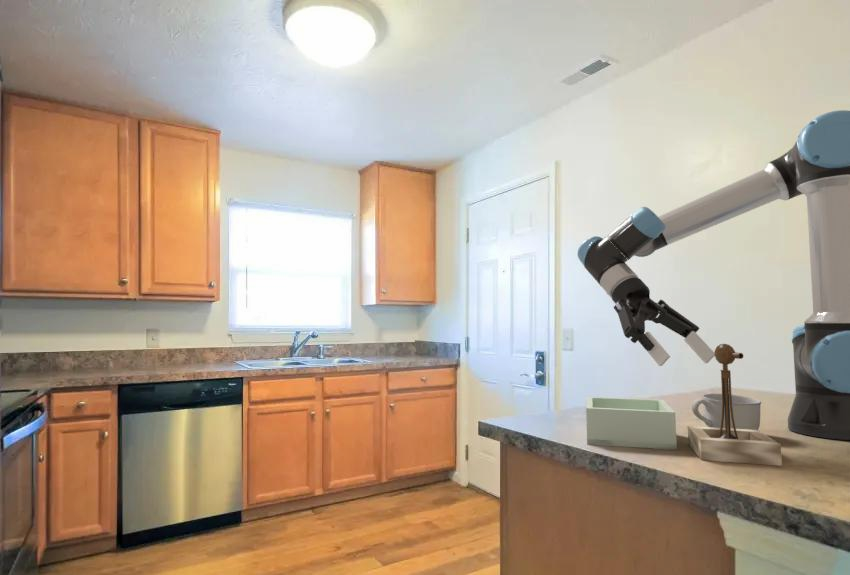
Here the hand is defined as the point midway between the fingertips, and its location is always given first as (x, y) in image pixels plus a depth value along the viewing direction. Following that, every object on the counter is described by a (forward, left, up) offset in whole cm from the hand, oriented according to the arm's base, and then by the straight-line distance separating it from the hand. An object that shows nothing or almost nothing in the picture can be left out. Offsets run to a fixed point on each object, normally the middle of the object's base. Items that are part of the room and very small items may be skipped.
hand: (688, 360), depth 99 cm
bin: (+11, -3, -16) cm, 20 cm away
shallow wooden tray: (-6, +5, -16) cm, 18 cm away
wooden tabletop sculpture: (-6, +5, -17) cm, 18 cm away
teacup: (-9, -13, -17) cm, 23 cm away
